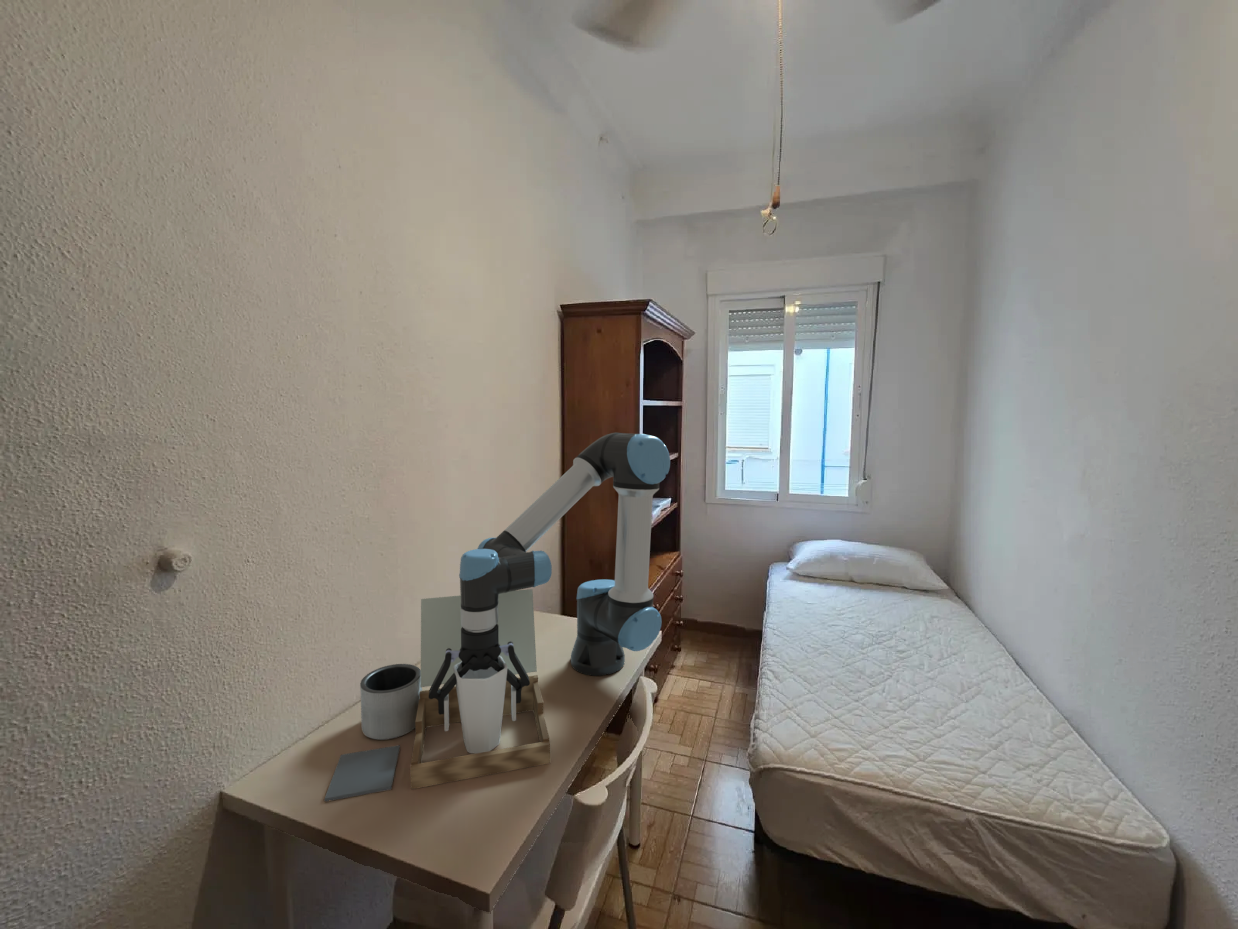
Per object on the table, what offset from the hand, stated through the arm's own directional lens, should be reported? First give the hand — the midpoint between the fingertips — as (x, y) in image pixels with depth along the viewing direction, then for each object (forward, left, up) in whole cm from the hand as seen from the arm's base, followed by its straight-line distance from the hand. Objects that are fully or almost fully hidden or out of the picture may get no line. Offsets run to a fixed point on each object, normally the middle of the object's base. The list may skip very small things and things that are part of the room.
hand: (480, 722), depth 106 cm
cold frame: (0, -2, -5) cm, 5 cm away
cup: (0, 0, -5) cm, 5 cm away
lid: (0, -13, +13) cm, 19 cm away
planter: (+19, -12, -5) cm, 23 cm away
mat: (+22, +3, -5) cm, 23 cm away
